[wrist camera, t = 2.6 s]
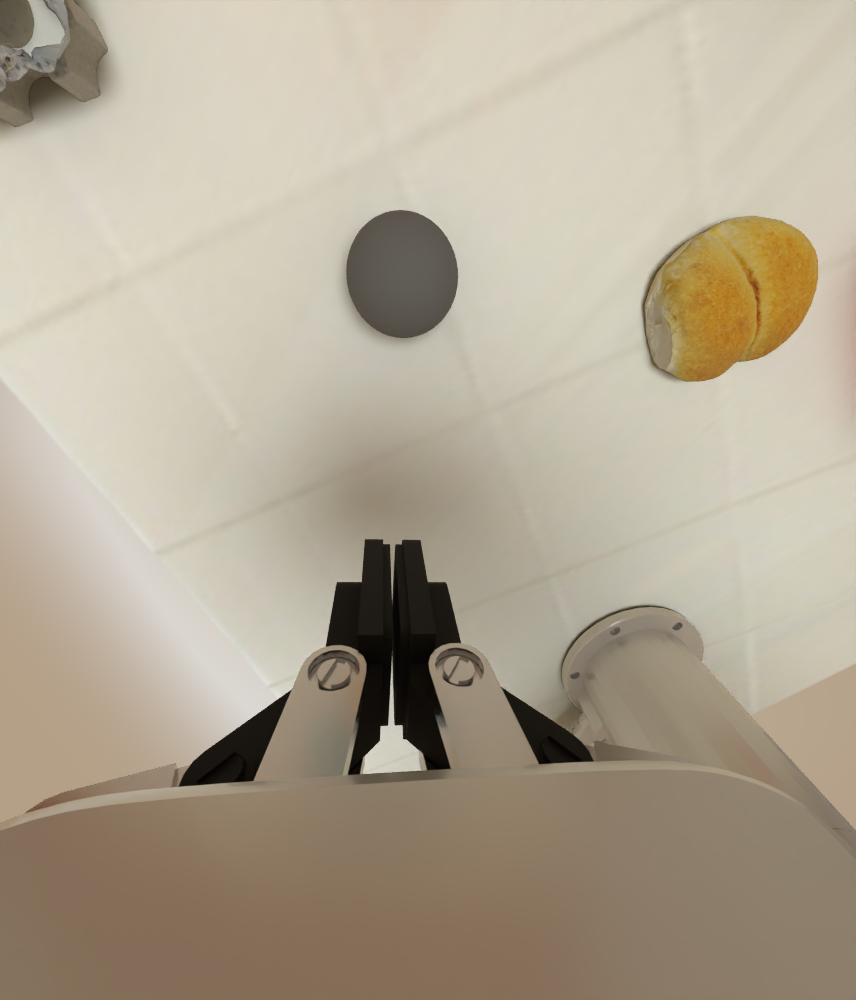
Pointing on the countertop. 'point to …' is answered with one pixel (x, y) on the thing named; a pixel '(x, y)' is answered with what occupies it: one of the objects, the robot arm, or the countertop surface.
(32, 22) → the egg carton
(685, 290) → the bread roll
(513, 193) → the countertop surface
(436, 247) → the dark gray ball
